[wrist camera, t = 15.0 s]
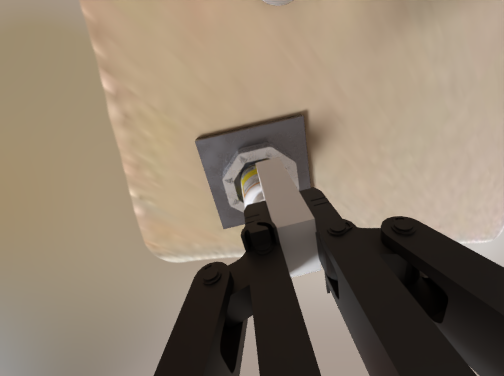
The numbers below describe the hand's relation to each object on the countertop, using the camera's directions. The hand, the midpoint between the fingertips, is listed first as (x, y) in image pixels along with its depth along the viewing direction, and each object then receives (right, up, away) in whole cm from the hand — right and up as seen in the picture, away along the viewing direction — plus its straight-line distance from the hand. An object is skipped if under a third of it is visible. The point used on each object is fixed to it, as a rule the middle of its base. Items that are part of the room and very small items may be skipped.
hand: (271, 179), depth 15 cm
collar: (0, +2, +23) cm, 23 cm away
